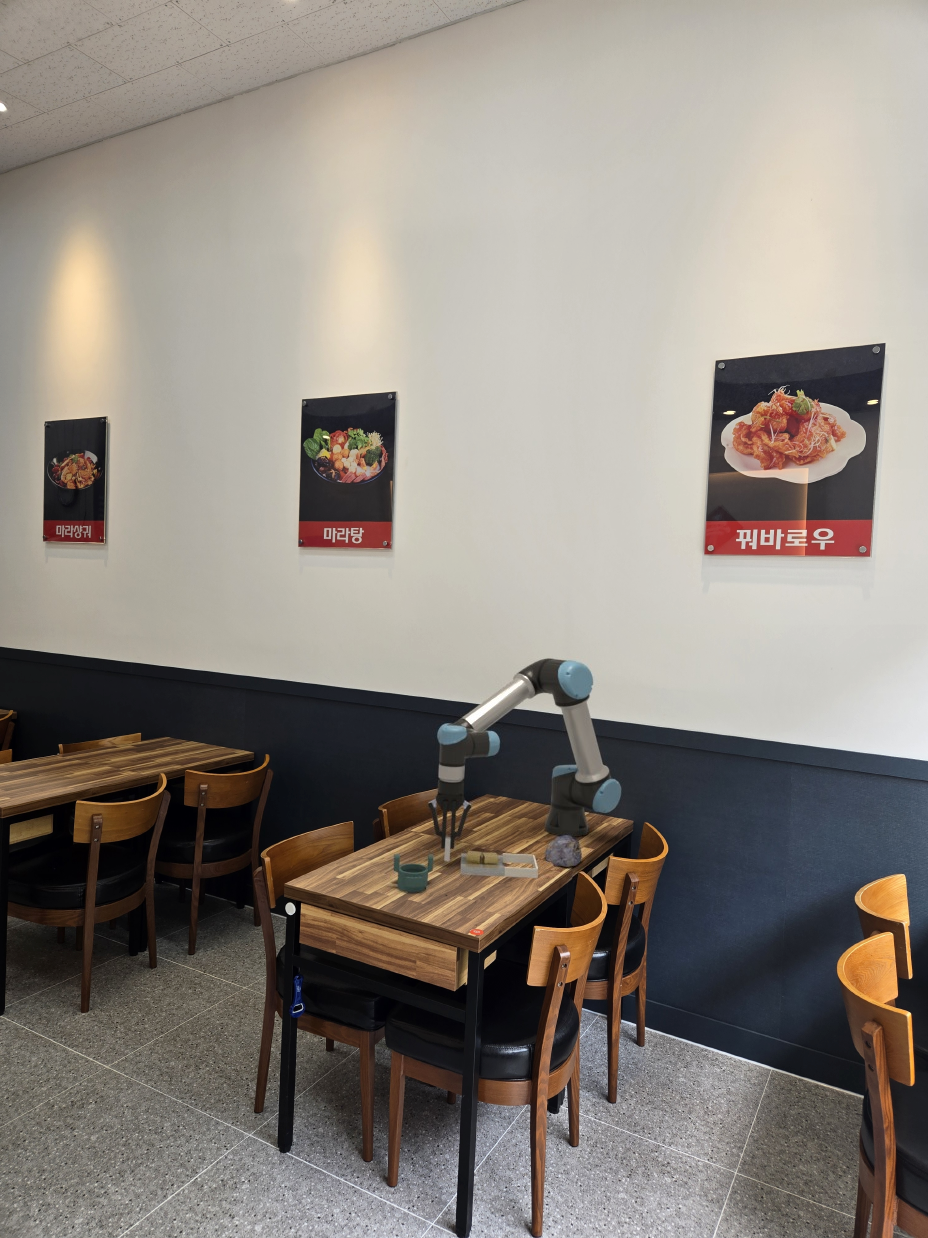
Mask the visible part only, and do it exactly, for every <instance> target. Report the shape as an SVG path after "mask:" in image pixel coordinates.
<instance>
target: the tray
mask: <svg viewBox="0 0 928 1238" xmlns="http://www.w3.org/2000/svg"><path fill="white" fill-rule="evenodd" d="M502 855H503V863H507V864H508V863H509V864H510V863H511V864H526V865H527V864H532V867H513V866H512V867H511V866H504V867H505V874H504V876H503V877H504V878H507V877H508V878H525V879H526V878H529V879H538V878H539V867H538V863H537V860H536V856H535V855H534V854H526V853H525V854H524V853H523V854H522V853H503V852H502Z"/></svg>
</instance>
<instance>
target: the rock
mask: <svg viewBox="0 0 928 1238" xmlns="http://www.w3.org/2000/svg"><path fill="white" fill-rule="evenodd" d="M582 856H583V854H582V848H581V845H580V841H579V840H578V839H576V838H575V837H574V836H573V837H572V836H570V835H563V836H560V835H557V837H555V838H554V839H553V840H551V841H550V842H549V843H548V844H547V847H546V849H545V852H544V858H545V860H546V861H547V862H548V863H551V864H552V865H553V866H555V867H559V866H562V867H574V866H577V865H578V864H580V862H581V860H582V858H583V857H582Z"/></svg>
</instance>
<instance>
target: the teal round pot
mask: <svg viewBox="0 0 928 1238" xmlns="http://www.w3.org/2000/svg"><path fill="white" fill-rule="evenodd" d="M400 859H401V855H400V854H399V853H393V871H394V872H396V873H397V885H396V887H397V889H398V890H399V891H401V892H405V893H413V894H414V893H421V892H425V891H427V886H428V885H429V884H428V881H429V873H432V872H433V870H434V854H428V855H427V866H426V865H425V864H421V863H404V864H403V863H402V864H401V865H400Z"/></svg>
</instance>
